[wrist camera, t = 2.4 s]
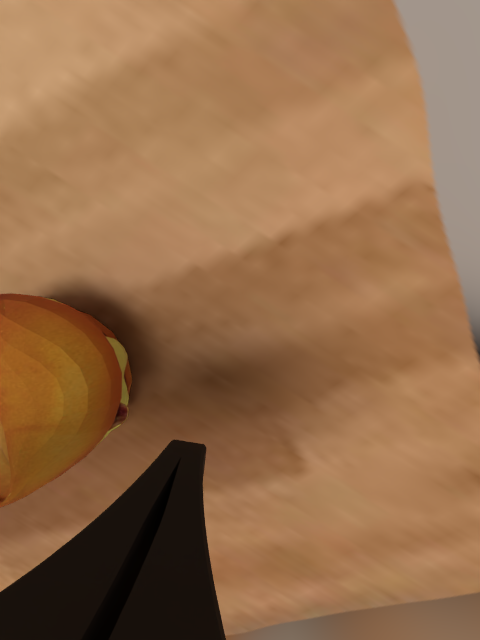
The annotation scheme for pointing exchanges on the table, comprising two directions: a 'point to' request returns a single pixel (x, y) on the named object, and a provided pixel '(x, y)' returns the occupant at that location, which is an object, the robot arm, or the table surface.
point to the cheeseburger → (54, 390)
